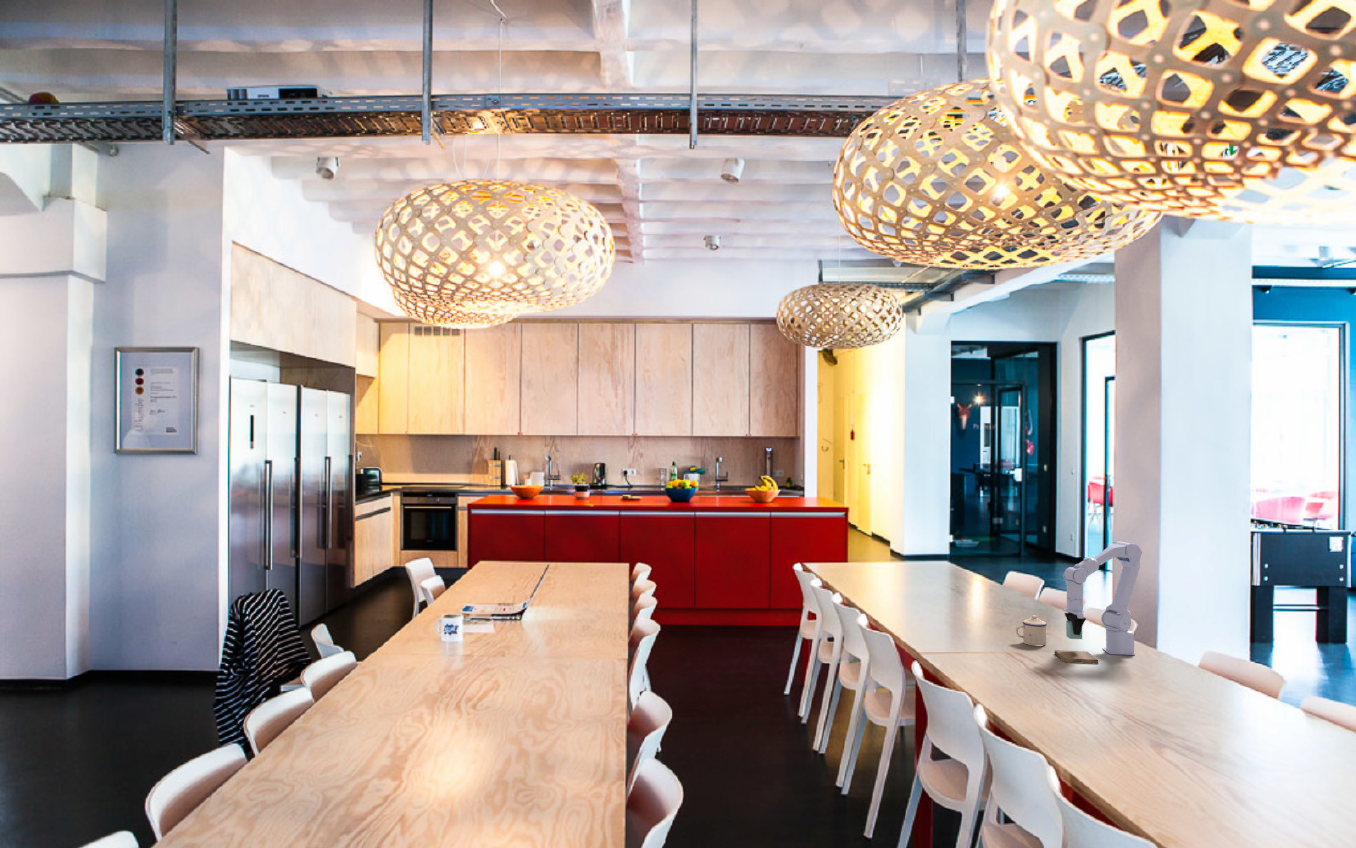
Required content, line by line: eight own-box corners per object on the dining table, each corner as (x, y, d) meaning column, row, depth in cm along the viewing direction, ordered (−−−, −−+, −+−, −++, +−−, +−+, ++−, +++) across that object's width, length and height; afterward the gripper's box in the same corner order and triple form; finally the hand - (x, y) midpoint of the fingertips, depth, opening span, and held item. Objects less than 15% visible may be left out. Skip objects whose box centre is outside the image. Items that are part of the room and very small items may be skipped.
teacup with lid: (1043, 641, 329) (1042, 613, 329) (1049, 647, 320) (1049, 618, 320) (1012, 640, 330) (1012, 612, 331) (1019, 646, 321) (1018, 617, 322)
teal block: (1078, 636, 310) (1078, 621, 310) (1082, 639, 306) (1082, 623, 306) (1066, 636, 311) (1066, 620, 311) (1069, 638, 306) (1069, 623, 307)
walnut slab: (1087, 655, 307) (1087, 651, 307) (1098, 663, 296) (1098, 659, 296) (1054, 653, 309) (1054, 650, 309) (1064, 662, 298) (1064, 658, 298)
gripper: (1058, 594, 316) (1058, 628, 316) (1069, 601, 302) (1069, 637, 302) (1077, 595, 315) (1077, 629, 315) (1089, 602, 301) (1089, 638, 301)
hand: (1075, 633), depth 308 cm, fingers closed on teal block, 4 cm apart
